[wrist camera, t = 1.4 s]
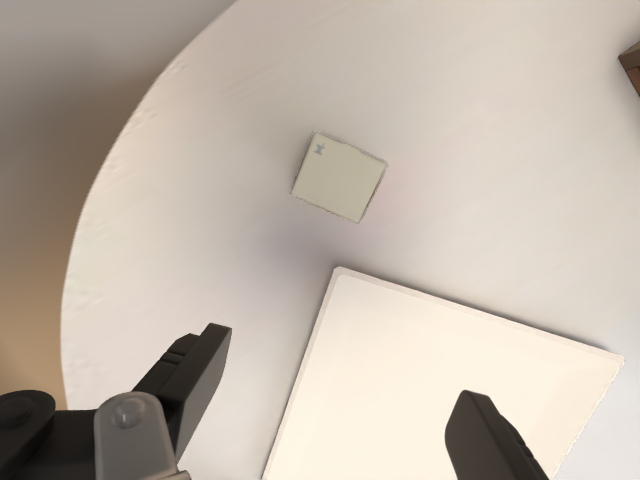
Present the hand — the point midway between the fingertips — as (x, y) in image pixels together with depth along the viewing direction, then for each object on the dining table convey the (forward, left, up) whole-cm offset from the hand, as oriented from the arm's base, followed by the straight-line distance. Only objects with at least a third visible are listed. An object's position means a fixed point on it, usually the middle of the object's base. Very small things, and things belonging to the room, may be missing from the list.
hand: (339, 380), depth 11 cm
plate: (+19, -5, -19) cm, 27 cm away
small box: (-5, +3, -19) cm, 20 cm away
